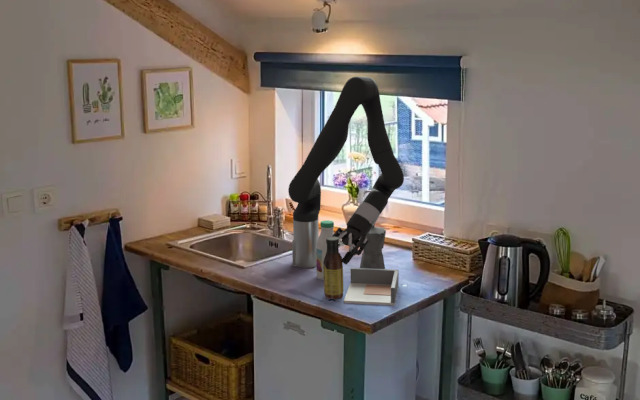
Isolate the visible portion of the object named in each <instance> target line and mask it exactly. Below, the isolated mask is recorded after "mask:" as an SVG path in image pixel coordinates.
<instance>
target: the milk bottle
mask: <svg viewBox="0 0 640 400" xmlns="http://www.w3.org/2000/svg"><path fill="white" fill-rule="evenodd" d="M334 222H335V221H333V220H330V219H329V220H327V219H326V220H322V221H320V222H319V223H320V229H321V230H320V233H319V238H318V241H317V247H316V266H315V267H316V278H317V279H318V280H319V279H320V280H321V281H322V280H323V281H324V267H323V262H324V258H325V255H326V252H327V243H326V238H327V237H332V236H333V235H334V233H335V232H334V228H335V223H334Z"/></svg>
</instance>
